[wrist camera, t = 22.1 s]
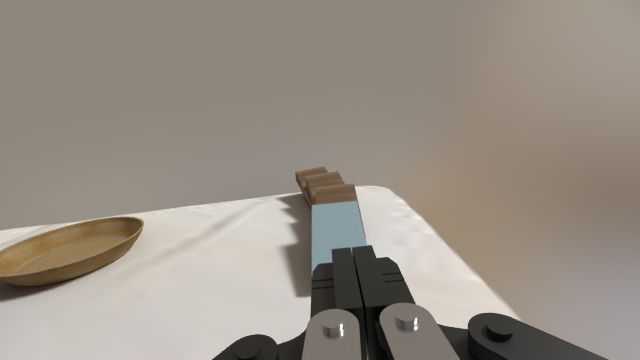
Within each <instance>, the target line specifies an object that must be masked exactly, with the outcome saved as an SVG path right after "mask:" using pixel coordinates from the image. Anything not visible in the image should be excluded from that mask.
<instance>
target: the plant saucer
mask: <svg viewBox="0 0 640 360" xmlns="http://www.w3.org/2000/svg"><path fill="white" fill-rule="evenodd" d="M143 226H144V222H143V220H141V219H139V218H135V217H112V218H105V219H97V220H92V221H87V222H82V223H78V224H74V225H70V226H66V227H62V228H58V229H55V230H52V231H49V232H45V233H42V234H40V235H37V236H34V237H31V238H28V239H26V240H23V241H21V242H18V243H16V244H14V245H12V246H9V247H7V248H5V249H3V250H1V251H0V281H1V282H5V283H9V284H14V285H19V286H42V285H48V284H53V283H58V282H62V281H66V280H69V279H73V278H76V277H79V276H82V275H85V274H87V273H90V272H92V271H95V270H97V269H99V268H102V267H104V266H106V265H108V264H110V263H111V262H113V261H115V260H117V259H118V258H120V257H121V256H122V255H124V254H125V253H126V252H127V251H128V250H129V249H130V248H131V246H132V245H133V244H134V243H135V241H136V240H137V238H138V237H139V235H140V233H141V231H142V229H143Z"/></svg>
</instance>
